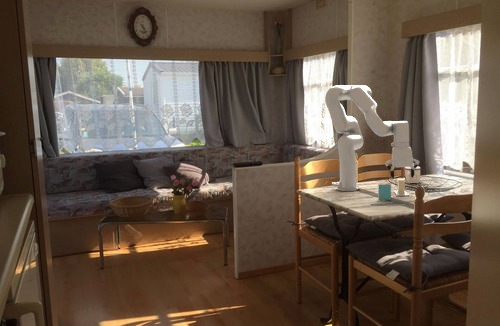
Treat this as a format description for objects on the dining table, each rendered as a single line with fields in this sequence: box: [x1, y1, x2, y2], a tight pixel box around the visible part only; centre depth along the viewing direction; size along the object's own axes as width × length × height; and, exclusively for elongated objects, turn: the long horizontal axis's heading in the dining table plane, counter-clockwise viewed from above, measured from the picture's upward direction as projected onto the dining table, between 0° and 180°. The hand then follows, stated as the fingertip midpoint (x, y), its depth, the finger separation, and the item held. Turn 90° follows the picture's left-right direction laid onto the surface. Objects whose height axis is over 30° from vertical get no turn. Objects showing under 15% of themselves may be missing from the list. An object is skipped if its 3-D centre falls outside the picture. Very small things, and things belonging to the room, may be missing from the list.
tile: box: [377, 183, 392, 201], centre depth 217 cm, size 6×2×8 cm, turn 81°
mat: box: [370, 203, 406, 207], centre depth 214 cm, size 16×16×1 cm
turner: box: [393, 178, 409, 196], centre depth 226 cm, size 6×10×8 cm, turn 171°
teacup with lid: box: [404, 162, 421, 184], centre depth 256 cm, size 12×9×12 cm
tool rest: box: [391, 190, 414, 198], centre depth 227 cm, size 10×13×1 cm
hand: (402, 177), depth 225 cm, fingers open, 9 cm apart
